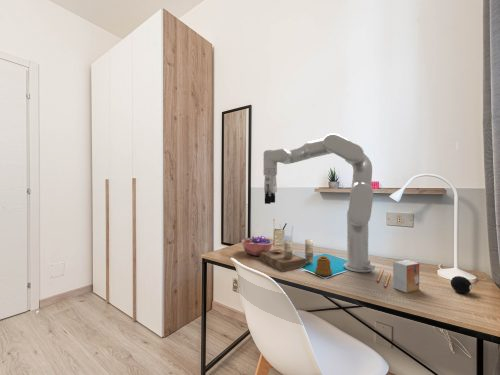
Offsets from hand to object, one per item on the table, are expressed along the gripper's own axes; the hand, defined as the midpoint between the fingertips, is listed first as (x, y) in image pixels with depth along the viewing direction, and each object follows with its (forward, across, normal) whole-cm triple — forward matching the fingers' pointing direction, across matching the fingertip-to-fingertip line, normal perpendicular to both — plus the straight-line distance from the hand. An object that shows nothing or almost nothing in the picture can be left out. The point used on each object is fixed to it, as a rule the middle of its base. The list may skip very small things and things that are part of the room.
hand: (270, 203), depth 135 cm
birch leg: (+31, 0, -22) cm, 38 cm away
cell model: (+31, +5, +9) cm, 33 cm away
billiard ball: (+31, -16, -80) cm, 88 cm away
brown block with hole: (+31, -5, -8) cm, 32 cm away
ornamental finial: (+31, -14, -30) cm, 45 cm away
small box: (+31, -20, -61) cm, 72 cm away
